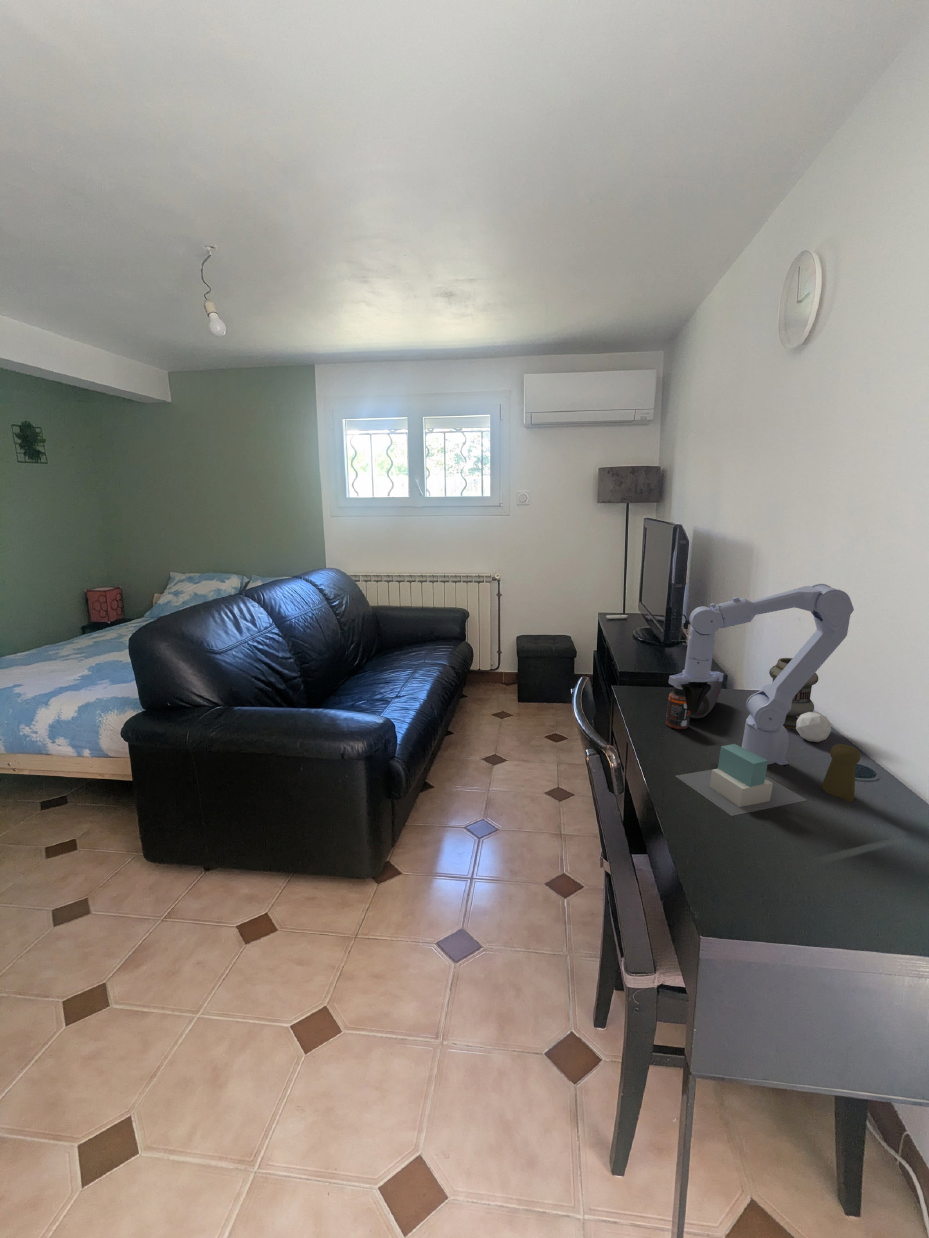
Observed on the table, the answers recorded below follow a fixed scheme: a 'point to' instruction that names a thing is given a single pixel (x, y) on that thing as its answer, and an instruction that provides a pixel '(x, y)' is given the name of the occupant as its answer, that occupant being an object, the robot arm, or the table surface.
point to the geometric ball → (813, 726)
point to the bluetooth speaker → (708, 700)
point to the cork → (842, 772)
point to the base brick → (739, 789)
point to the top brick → (742, 764)
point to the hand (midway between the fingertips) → (692, 710)
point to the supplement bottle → (677, 709)
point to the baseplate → (702, 786)
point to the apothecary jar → (801, 699)
